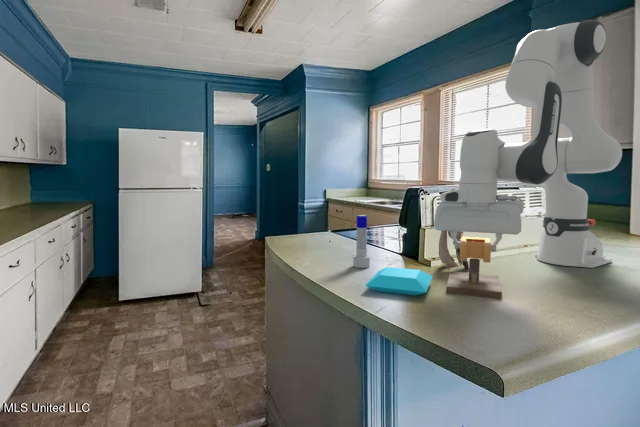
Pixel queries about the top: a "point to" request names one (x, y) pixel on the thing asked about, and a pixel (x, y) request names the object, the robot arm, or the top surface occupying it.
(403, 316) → the top surface
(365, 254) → the bolt
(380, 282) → the prism
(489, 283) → the flange base
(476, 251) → the wooden notched block
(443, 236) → the toy
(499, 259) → the top surface
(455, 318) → the top surface
